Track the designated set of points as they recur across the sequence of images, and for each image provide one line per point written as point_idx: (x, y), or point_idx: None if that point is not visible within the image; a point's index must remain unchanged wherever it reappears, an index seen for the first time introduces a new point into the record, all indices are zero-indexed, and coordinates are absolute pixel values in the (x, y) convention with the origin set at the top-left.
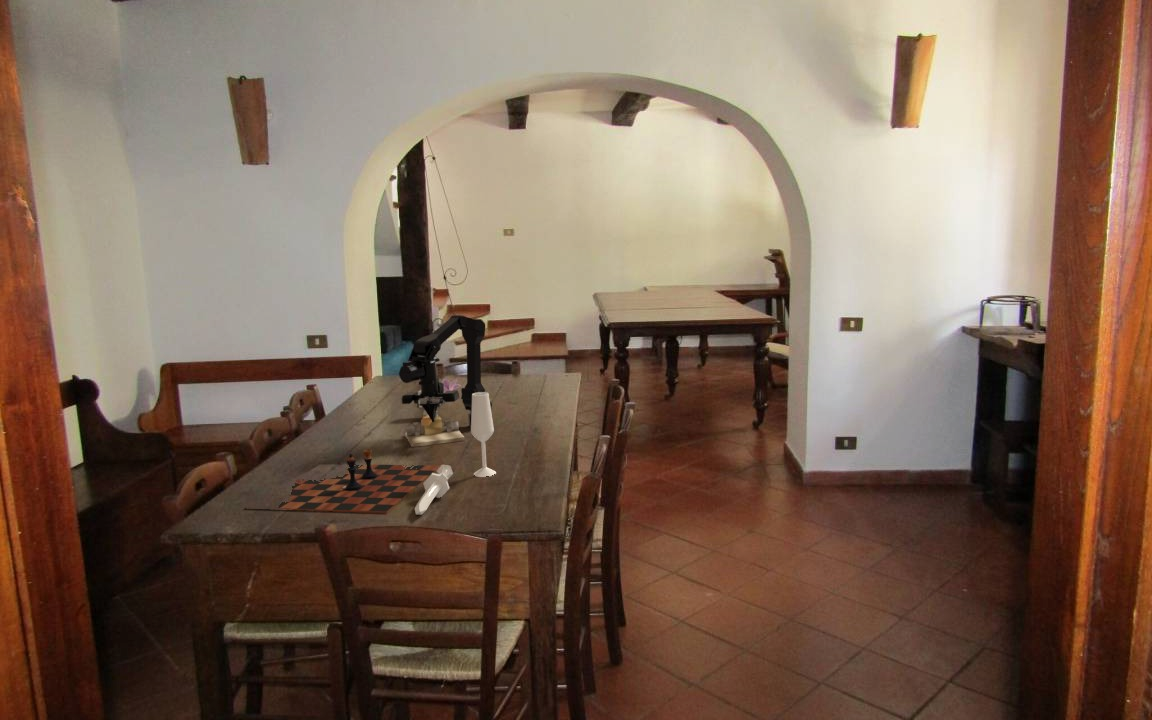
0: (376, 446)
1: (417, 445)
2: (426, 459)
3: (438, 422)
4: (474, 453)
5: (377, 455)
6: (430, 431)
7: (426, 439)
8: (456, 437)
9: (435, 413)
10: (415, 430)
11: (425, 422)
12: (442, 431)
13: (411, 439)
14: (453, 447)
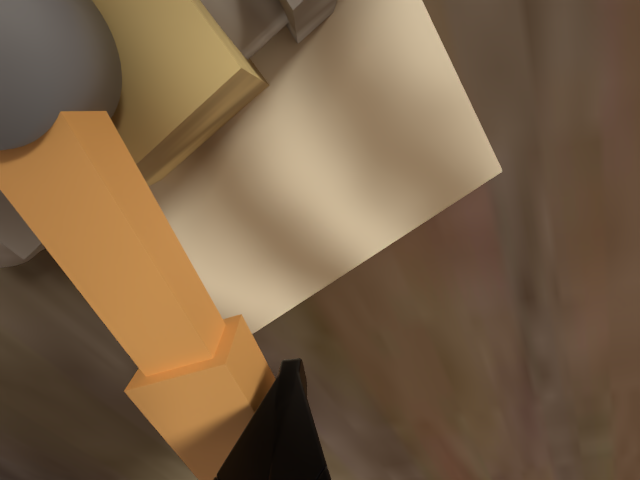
0: (5, 367)
1: None
2: (387, 458)
3: (216, 103)
4: (582, 371)
5: (145, 458)
6: (180, 157)
7: (242, 276)
8: (442, 194)
9: (322, 454)
10: None
11: None
12: (267, 84)
13: None
14: (451, 311)
